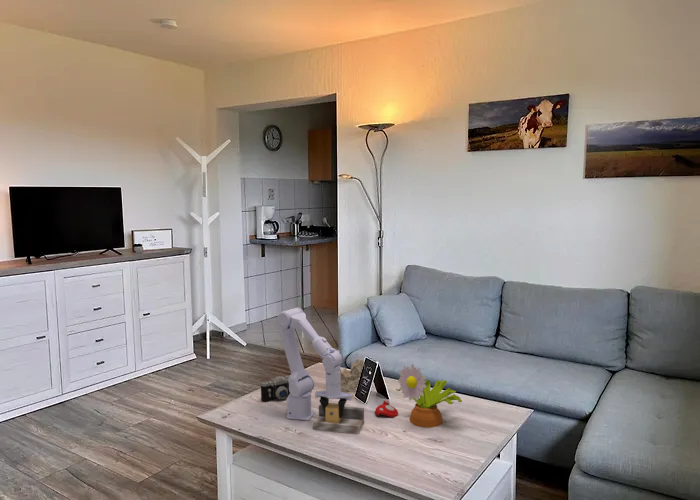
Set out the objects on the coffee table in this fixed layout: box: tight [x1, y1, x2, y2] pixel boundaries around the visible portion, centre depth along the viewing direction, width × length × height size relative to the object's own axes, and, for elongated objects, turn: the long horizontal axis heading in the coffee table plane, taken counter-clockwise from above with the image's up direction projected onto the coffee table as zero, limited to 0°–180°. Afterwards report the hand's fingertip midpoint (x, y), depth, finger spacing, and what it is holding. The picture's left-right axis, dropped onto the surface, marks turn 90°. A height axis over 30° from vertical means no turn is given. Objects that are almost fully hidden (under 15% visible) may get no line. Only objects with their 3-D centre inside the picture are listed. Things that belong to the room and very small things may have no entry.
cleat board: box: [312, 403, 365, 435], centre depth 201 cm, size 18×10×6 cm, turn 76°
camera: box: [260, 375, 290, 403], centre depth 228 cm, size 15×7×10 cm, turn 122°
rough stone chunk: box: [340, 358, 365, 393], centre depth 243 cm, size 16×16×15 cm
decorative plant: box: [395, 363, 463, 429], centre depth 204 cm, size 27×24×25 cm
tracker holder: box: [374, 398, 399, 418], centre depth 213 cm, size 12×4×10 cm
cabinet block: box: [325, 402, 342, 423], centre depth 200 cm, size 5×6×6 cm
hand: (333, 416), depth 201 cm, fingers closed on cabinet block, 5 cm apart
